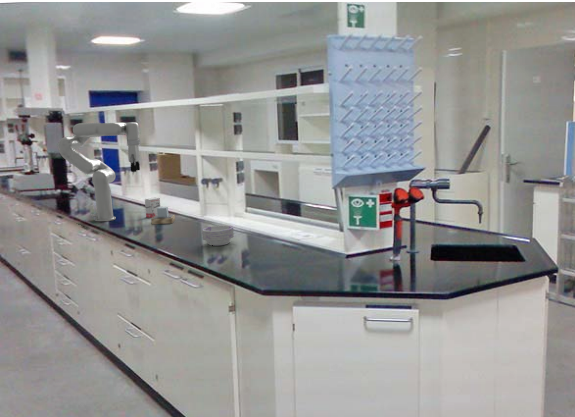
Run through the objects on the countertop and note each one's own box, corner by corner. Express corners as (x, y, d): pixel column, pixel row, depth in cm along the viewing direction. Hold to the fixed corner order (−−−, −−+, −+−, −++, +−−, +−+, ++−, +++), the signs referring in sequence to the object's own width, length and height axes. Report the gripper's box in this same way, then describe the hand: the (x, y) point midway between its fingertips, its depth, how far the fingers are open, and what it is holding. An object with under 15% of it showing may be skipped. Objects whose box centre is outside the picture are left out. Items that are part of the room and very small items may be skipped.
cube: (157, 217, 333) (157, 208, 333) (159, 215, 339) (158, 206, 338) (167, 217, 334) (166, 208, 333) (168, 215, 339) (167, 206, 338)
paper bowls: (203, 241, 279) (203, 225, 278) (234, 239, 280) (233, 224, 279) (201, 248, 264) (200, 231, 263) (233, 246, 265) (233, 230, 264)
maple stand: (151, 224, 331) (151, 218, 330) (155, 220, 342) (155, 215, 342) (172, 223, 331) (171, 217, 331) (175, 219, 343) (174, 214, 342)
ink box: (150, 218, 352) (149, 199, 350) (145, 217, 355) (144, 198, 353) (161, 215, 359) (160, 197, 357) (156, 215, 362) (155, 197, 360)
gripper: (130, 142, 349) (132, 170, 351) (123, 143, 332) (126, 172, 334) (142, 142, 349) (144, 169, 352) (136, 143, 332) (138, 172, 335)
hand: (135, 171), depth 343 cm, fingers open, 9 cm apart
